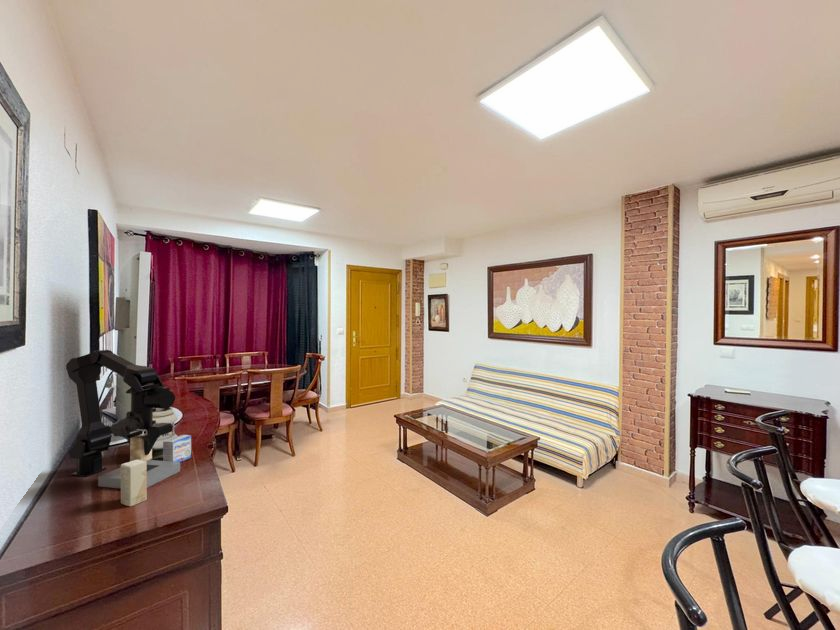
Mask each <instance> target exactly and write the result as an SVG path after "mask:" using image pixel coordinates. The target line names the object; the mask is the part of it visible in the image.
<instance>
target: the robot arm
mask: <svg viewBox="0 0 840 630" xmlns="http://www.w3.org/2000/svg"><path fill="white" fill-rule="evenodd" d="M102 367H105V368H106V369H107V370H110V371H112V372H114V373H115V374H118V375H120V376H121V377H122V380H123V382H124V383H125V384H126V385H128V387H129V389H127V390H126V391H125V393H126V394H130V411H129V410H128V411H127V412H126V415H125V417H124V418H123V419H120V420H119V421H117V422H115V423H112V424H111V425H105V423H104V422H103V421H102V415H101V406H100V401H99V400H100V399H99V398H100V397H99V393H98V392H99V391H98V385H97V384H98V383H97V380H98V378H99V377H100V375H101V373H102ZM65 369H66V371H67V374H68V378H69V379H70V380H71V381H72V382H73V383H74V384H75V385H76V391H77V398H78V399H77V400H78V405H79V415H80V420H81V428H80V429H79V431H78V433H77V434H76V443H75V444H74V445H73V447H71V449H70V450H69V451H68V455H69V458H70V459H75V460H76V471H75V472H72V473H71V476H79V477H89V476H91V475H94V474H96V473H99V472H101V471H104V470H106V469H107V466H103V452H105V451H108V450H109V447H110V445H111V441H112V437H121V438H124V439H125V440H126V441H127V442H128V444H129V446H130V438H132V437H135V436H138V435H141V434H144V431H146V435H144V436H141V437H140V438H142V439H143V440H144V452H145V455H148V454H149V453H150V451H151V449H152V447H153V446H154V444H155V442H156V440H157V439H158V437H159V436H161V435H164V434H166V433H169V432H172V431H173V425H172V424H171V423H159V424H156V420H153V412H155V411H156V408H161V409H167V408H170V407H172V406H173V405H174V403H175V401H176V396H175V393H174V392H173V391H171V390H170V389H171V387H170V386H165V385H164V382H163V381H162V380H161V378H160V376H159V375H158V373H157V371H156V369H155V368H153V367H149V366H146V365H138V364H135V363H133V362H131V361H129V360H127V359H125V358H123V357H121V356H120V355H118V354H116V353H114V352H113V351H112V350H110V349H100V350H94V351H91V352H89V353H87V354H83V355H80V356H77V357H73V358H70V359H69V361H68V362H67V363H66V365H65ZM152 424H156V425H153V426H152Z"/></svg>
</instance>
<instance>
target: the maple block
mask: <svg viewBox="0 0 840 630" xmlns="http://www.w3.org/2000/svg"><path fill="white" fill-rule="evenodd" d="M144 435H146V434H144V433H142V434H141V435H138V436H135V437H132V438H130V445H129V449H130V450H129V462H130V461H134V460H142V461H145V462H146V461H148V460H150V459H152V449H151V451H150V453H149V454H148V455H145V452H144V440H143V439H142V438H140V437H141V436H144Z"/></svg>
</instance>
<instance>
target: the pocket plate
mask: <svg viewBox="0 0 840 630" xmlns="http://www.w3.org/2000/svg"><path fill="white" fill-rule="evenodd" d="M146 462H147V488H150V487H151V486H153V485H156V484H157V483H159V482H162V481H163V480H166V479H168V478H169V477H172V476H173V475H175V474H178V473H179V472H181V463H180V462H170V461H163V460H148V461H146ZM97 478H98V479H97V486H98V487H102V488H113V489H121V467H119V468H115V469H113V470H111V471H109V472H106V473H104V474H102V475H99V476H98V477H97Z"/></svg>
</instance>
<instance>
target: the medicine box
mask: <svg viewBox="0 0 840 630" xmlns="http://www.w3.org/2000/svg"><path fill="white" fill-rule="evenodd" d="M177 436H178V437H175V438H172V439H169V440H167V441H164V442H163V460H162V461H170V462H181V463H183V462H185V461H187V460H189V459H191V458H192V435H189V434H181V435H177ZM182 461H183V462H182Z"/></svg>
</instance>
